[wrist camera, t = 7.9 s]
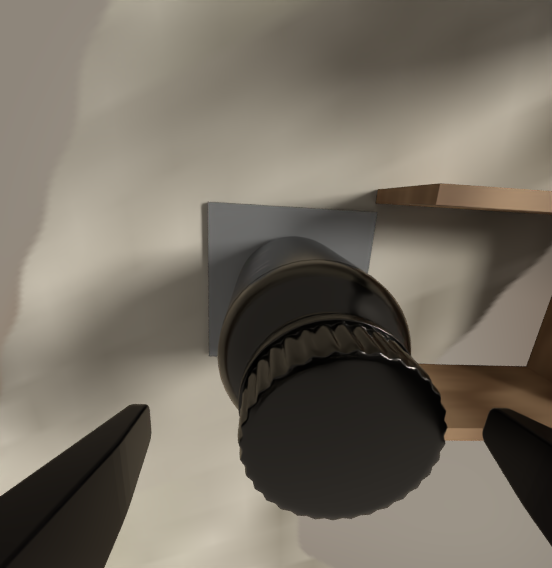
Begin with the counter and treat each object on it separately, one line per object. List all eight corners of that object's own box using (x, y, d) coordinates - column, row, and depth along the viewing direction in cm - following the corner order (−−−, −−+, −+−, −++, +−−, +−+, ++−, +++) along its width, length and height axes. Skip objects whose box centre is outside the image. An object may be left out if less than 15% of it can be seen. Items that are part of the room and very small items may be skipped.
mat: (374, 212, 17) (377, 212, 17) (352, 356, 20) (354, 359, 19) (209, 201, 16) (207, 201, 16) (210, 353, 19) (209, 356, 19)
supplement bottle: (364, 265, 17) (564, 390, 6) (309, 351, 19) (385, 580, 8) (267, 212, 16) (287, 241, 5) (217, 309, 18) (142, 508, 6)
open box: (596, 204, 18) (759, 206, 12) (532, 375, 21) (634, 440, 15) (377, 189, 17) (440, 183, 11) (349, 372, 20) (385, 440, 14)
